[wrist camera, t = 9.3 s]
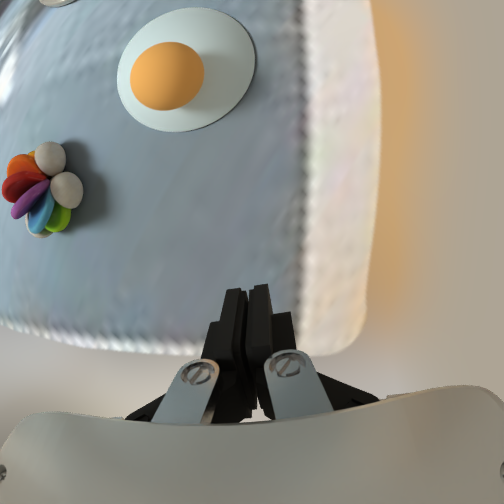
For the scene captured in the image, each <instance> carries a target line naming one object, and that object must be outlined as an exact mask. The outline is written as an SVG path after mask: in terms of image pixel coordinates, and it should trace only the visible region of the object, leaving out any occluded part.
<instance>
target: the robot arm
mask: <svg viewBox="0 0 504 504" xmlns="http://www.w3.org/2000/svg"><path fill="white" fill-rule="evenodd" d="M39 1H40V2H41V3H42V4H44V5H45V6H48V7H60V6H64V5H66V4H68V3H71V2H73V1H74V0H39ZM257 397H258V400H259V404H260V407H261V409H263V411H264V414H265V416H266V417H268V418H270V419H271V420H269V421H258V422H244V423H239V422H240V421H242V420H243V419H244V418H251V417H252V410H255V409H257ZM0 504H504V402H503V401H502V400H501V399H500V398H499V397H498V396H497V395H495V394H494V393H493V392H491V391H490V390H488V389H486V388H483V387H479V386H472V385H457V386H445V387H438V388H431V389H427V390H422V391H417V392H413V393H405V394H395V395H387V398H386V399H378V398H377V397H376V396H374V395H372V394H370V393H367V392H365V391H362V390H360V389H357V388H354V387H352V386H349V385H347V384H344V383H342V382H339V381H337V380H335V379H333V378H330V377H328V376H325V375H323V374H320V373H318V372H316V370H315V368H314V366H313V364H312V361H311V359H310V358H309V356H308V355H307V354H306V353H304V352H302V351H299V350H297V349H296V343H295V336H294V330H293V324H292V318H291V312H284V313H277V314H273V311H272V305H271V299H270V294H269V288H268V284H262V285H256V286H254V289H252V290H249V302H248V297H247V292H246V291H241V288H235V289H228V290H227V291H226V295H225V299H224V303H223V308H222V312H221V316H220V321H216V322H211V323H210V326H209V329H208V333H207V337H206V340H205V344H204V348H203V352H202V355H201V359H197V360H193V361H191V362H188V363H186V364H185V365H184V366H182V367H181V368H180V370H179V371H178V373H177V374H176V377H175V378H174V380H173V382H172V383H171V386H170V387H169V389H168V391H167V393H165V394H164V395H162V396H160V397H159V398H157V399H155V400H154V401H152V402H150V403H148V404H147V405H145V406H143V407H142V408H140V409H138V410H136V411H135V412H133V413H131V414H130V415H128V416H127V417H126V418H125V420H124V419H123V418H122V417H115V418H104V417H97V416H90V415H83V414H76V413H68V412H42V413H36V414H32V415H30V416H27V417H25V418H24V419H22V420H21V422H19V424H18V425H17V426H16V427H15V428H14V430H13V431H12V432H11V434H10V435H9V437H8V438H7V440H6V441H5V443H4V445H3V446H2V448H1V449H0Z"/></svg>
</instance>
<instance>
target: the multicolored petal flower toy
mask: <svg viewBox="0 0 504 504" xmlns="http://www.w3.org/2000/svg"><path fill="white" fill-rule="evenodd" d="M65 164H66V155H65V151H64V149H63V148H62V147H61V146H60V145H59V144H58V143H55V142H45V143H43V144H41V145H39V146H38V147H37V149H36V150H35V151H32V152H30V153H29V154H28V155H26V154H20V155H17V156H15V157H14V158H12V159H11V161H10V162H9V164H8V167H7V177H8V178H7V179H6V180H5V181H4V183H3V185H2V195H3V197H4V198H5V199H6V200H7V201H9V202H11V203H15V204H14V206H13V207H12V209H11V216H12V217H13V218H14V219H19V218H21V217H22V216H24V215H25V214H26V219H25V222H26V227H27V229H28V231H29V232H30V233H31V234H32V235H33V236H35V237H37V238H45V237H48V236H50V235H51V234H52V233H53V232H59V231H62V230H63V229H65V228H66V226H67V225H68V223H69V221H70V217H71V209H72V208H76V207H77V206H78V205H79V204H80V202H81V200H82V197H83V186H82V183H81V181H80V179H79V178H78V177H77V176H76V175H75V174H73V173H69V172H62V171H63V169H64V167H65ZM61 172H62V173H61ZM52 177H53V178H52ZM51 178H52V180H51V182H50V179H51Z"/></svg>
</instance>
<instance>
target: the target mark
mask: <svg viewBox="0 0 504 504" xmlns="http://www.w3.org/2000/svg"><path fill="white" fill-rule="evenodd" d="M163 42H178V43H182V44H185V45H187V46H189V47H191V48H192V49H193V50H194V51H195V52H196V53H197V54H198V55H199V57H200V58H201V60H202V63H203V66H204V80H203V84H202V86H201V88H200V90H199V92H198V93H197V95H196V96H195V97H194V98H193V99H192V100H191V101H190V102H188V103H187V104H185V105H184V106H182V107H180V108H177V109H174V110H168V111H159V110H154V109H151V108H148V107H146V106H144V105H143V104H142V103H140V102H139V101H138V100H137V99H136V97H135V96H134V94H133V92H132V90H131V86H130V73H131V69H132V67H133V64H134V62H135V61H136V59H137V58H138V57H139V56H140V55H141V54H142V53H143V52H144V51H145V50H146V49H148V48H150V47H151V46H154V45H156V44H159V43H163ZM254 67H255V54H254V48H253V45H252V42H251V39H250V37H249V35H248V34H247V32H246V31H245V29H244V28H243V27H242V26H241V25H240V24H239V23H238V22H237V21H236V20H234V19H233V18H232V17H230V16H228V15H226V14H225V13H222V12H220V11H217V10H213V9H209V8H200V7H194V8H183V9H178V10H174V11H171V12H168V13H166V14H163V15H161V16H159V17H157V18H155V19H154V20H152V21H151V22H149V23H148V24H147V25H145V26H144V27H143V28H142V29H141V30H140V31H138V32H137V33H136V35H135V36H134V37H133V38H132V39H131V41H130V42H129V44H128V45H127V47H126V48H125V50H124V52H123V54H122V57H121V60H120V63H119V67H118V73H117V87H118V92H119V95H120V98H121V101H122V103H123V105H124V106H125V108H126V109H127V111H128V112H129V113H130V114H131V115H132V116H133V117H134V118H135V119H136V120H138V121H139V122H140V123H142V124H144V125H146V126H148V127H150V128H153V129H156V130H161V131H166V132H184V131H190V130H195V129H198V128H201V127H204V126H206V125H208V124H211V123H213V122H214V121H216V120H218V119H220V118H221V117H223V116H224V115H225V114H227V113H228V112H229V111H230V110H231V109H232V108H233V107H234V106H235V105H236V104H237V103H238V102H239V101H240V100H241V98H242V97H243V95H244V94H245V92H246V91H247V89H248V87H249V85H250V83H251V79H252V76H253V73H254Z"/></svg>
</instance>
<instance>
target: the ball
mask: <svg viewBox="0 0 504 504" xmlns="http://www.w3.org/2000/svg"><path fill="white" fill-rule="evenodd" d="M203 80H204V66H203V63H202V60H201V58H200V57H199V55H198V54H197V53H196V52H195V51H194V50H193V49H192V48H191V47H189V46H187V45H185V44H182V43H178V42H163V43H159V44H156V45H154V46H151V47H150V48H148V49H146V50H145V51H144V52H143V53H142V54H141V55H140V56H139V57H138V58H137V59H136V61H135V62H134V64H133V67H132V69H131V73H130V86H131V90H132V92H133V94H134V96H135V97H136V99H137V100H138V101H139V102H140V103H142V104H143V105H144V106H146V107H148V108H151V109H154V110H159V111H168V110H174V109H177V108H180V107H182V106H184V105H185V104H187V103H188V102H190V101H191V100H192V99H193V98H194V97H195V96H196V95H197V93H198V92H199V90H200V88H201V86H202V84H203Z"/></svg>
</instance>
